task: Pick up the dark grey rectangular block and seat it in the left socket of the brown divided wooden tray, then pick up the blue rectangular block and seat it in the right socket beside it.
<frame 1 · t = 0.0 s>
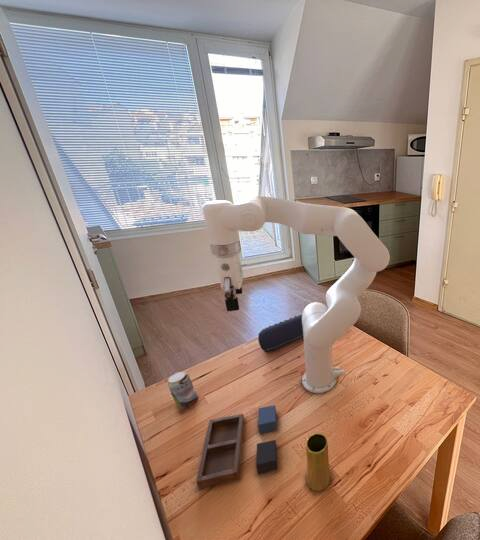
hand: (235, 301, 87), 37 cm above the table, tool pointing down, fingers open, 9 cm apart
brown divided wooden tray: (224, 451, 83), on the table
portable speaker: (288, 341, 128), on the table
beverage can: (187, 404, 97), on the table
vase: (318, 479, 77), on the table
blue rectangular block: (268, 423, 91), on the table
dark grey rectangular block: (267, 461, 81), on the table
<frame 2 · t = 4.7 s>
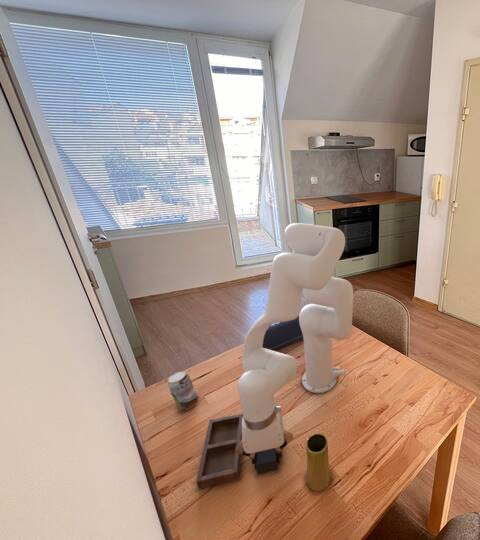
hand: (267, 460, 81), 0 cm above the table, tool pointing down, fingers closed on dark grey rectangular block, 5 cm apart
dark grey rectangular block: (267, 461, 81), on the table, touching gripper
everything else where it was.
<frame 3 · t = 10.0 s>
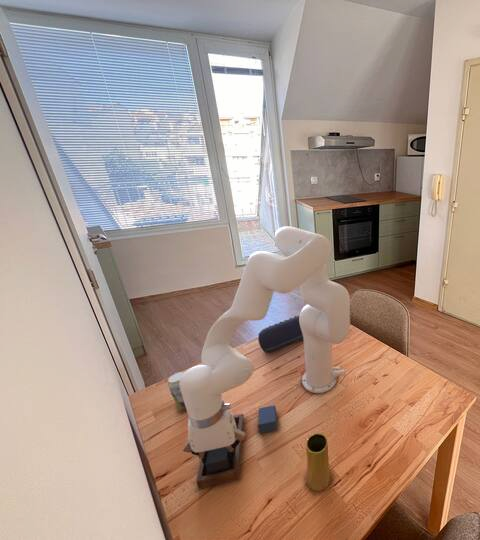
hand: (220, 459, 78), 3 cm above the table, tool pointing down, fingers closed on dark grey rectangular block, 5 cm apart
dark grey rectangular block: (220, 460, 78), point 2 cm above the table, touching gripper
everything else where it was.
when the fingers open (3 cm above the table, at t = 14.8 s): dark grey rectangular block drops 2 cm, resting on brown divided wooden tray.
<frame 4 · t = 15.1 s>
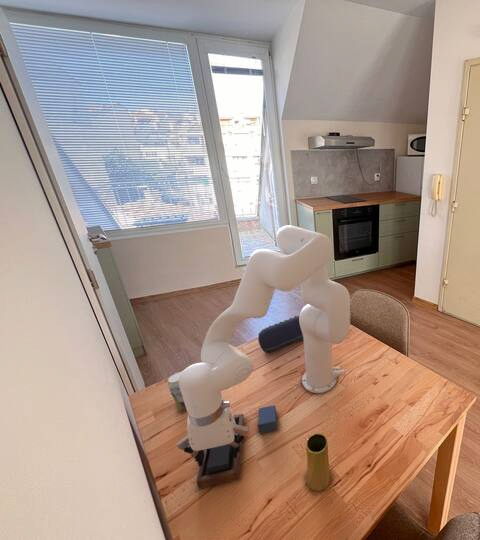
hand: (219, 456, 78), 4 cm above the table, tool pointing down, fingers open, 7 cm apart
dark grey rectangular block: (221, 464, 79), point 1 cm above the table, touching brown divided wooden tray
everything else where it was.
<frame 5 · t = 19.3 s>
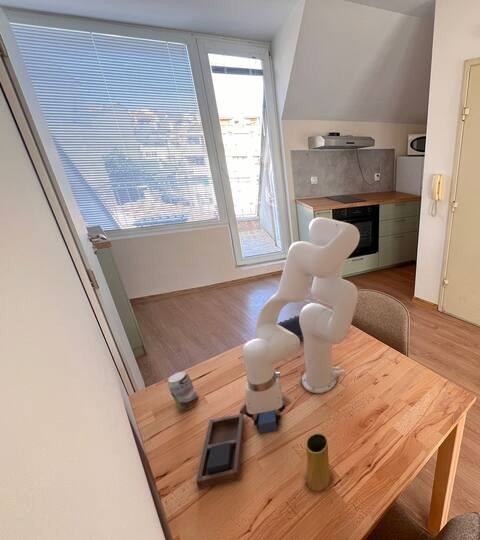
hand: (268, 422, 91), 0 cm above the table, tool pointing down, fingers closed on blue rectangular block, 5 cm apart
blue rectangular block: (268, 423, 91), on the table, touching gripper
everything else where it was.
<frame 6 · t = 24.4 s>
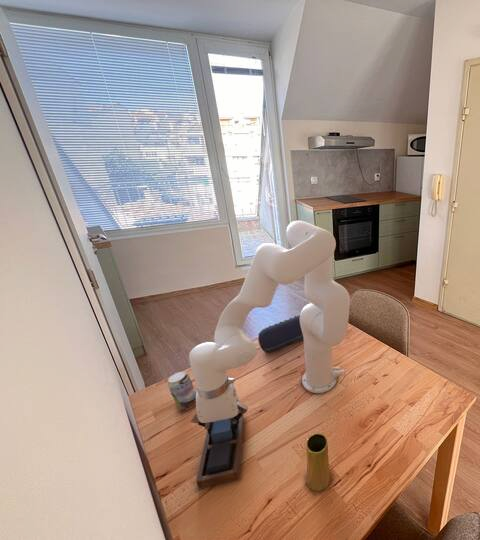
hand: (224, 431, 86), 3 cm above the table, tool pointing down, fingers closed on blue rectangular block, 5 cm apart
blue rectangular block: (224, 432, 86), point 2 cm above the table, touching gripper
everything else where it was.
when the fingers open (3 cm above the table, at t = 29.2 s): blue rectangular block drops 2 cm, resting on brown divided wooden tray.
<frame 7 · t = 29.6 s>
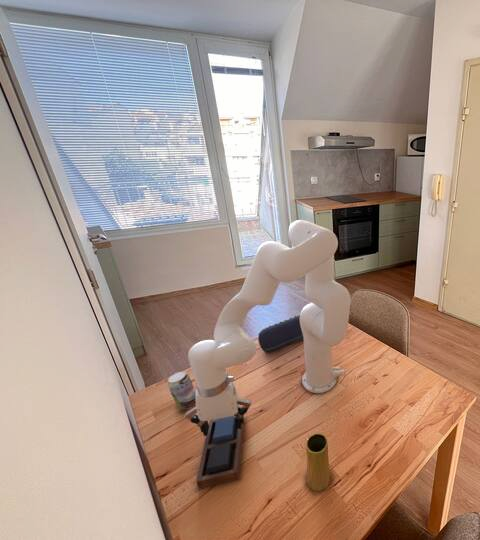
hand: (223, 428, 85), 4 cm above the table, tool pointing down, fingers open, 8 cm apart
blue rectangular block: (226, 435, 87), point 1 cm above the table, touching brown divided wooden tray
everything else where it was.
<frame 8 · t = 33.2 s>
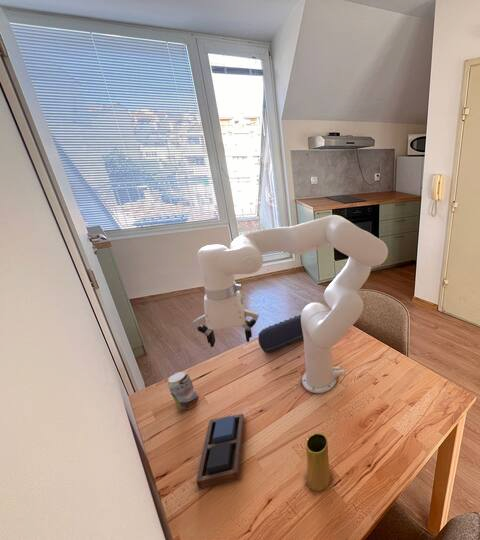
hand: (231, 341, 86), 26 cm above the table, tool pointing down, fingers open, 9 cm apart
nothing on the table moved.
at the end: dark grey rectangular block 0.1 cm from the target spot in the brown divided wooden tray, point 0.6 cm above the brown divided wooden tray's base; blue rectangular block 0.1 cm from the target spot in the brown divided wooden tray, point 0.6 cm above the brown divided wooden tray's base; blue rectangular block tilted 0° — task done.
